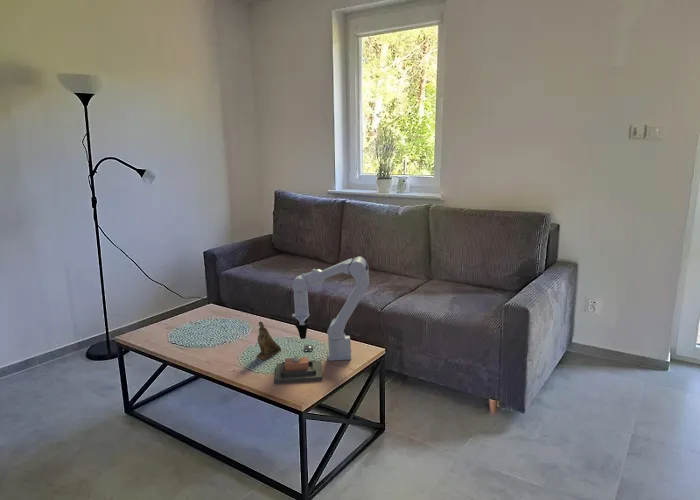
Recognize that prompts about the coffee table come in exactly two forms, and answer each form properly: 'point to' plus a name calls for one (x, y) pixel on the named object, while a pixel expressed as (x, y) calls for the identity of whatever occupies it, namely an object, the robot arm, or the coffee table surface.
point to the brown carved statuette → (266, 343)
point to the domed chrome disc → (308, 347)
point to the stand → (299, 373)
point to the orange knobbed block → (296, 364)
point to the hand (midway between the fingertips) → (303, 334)
